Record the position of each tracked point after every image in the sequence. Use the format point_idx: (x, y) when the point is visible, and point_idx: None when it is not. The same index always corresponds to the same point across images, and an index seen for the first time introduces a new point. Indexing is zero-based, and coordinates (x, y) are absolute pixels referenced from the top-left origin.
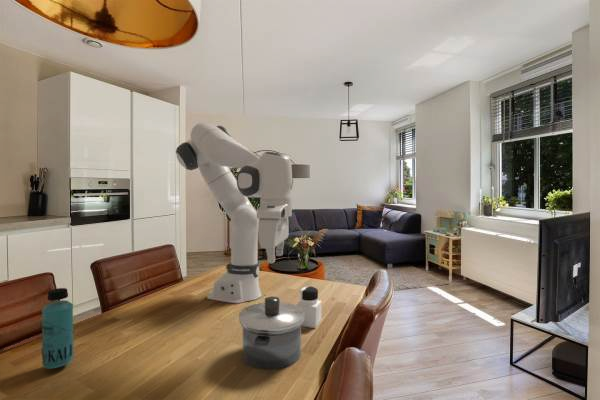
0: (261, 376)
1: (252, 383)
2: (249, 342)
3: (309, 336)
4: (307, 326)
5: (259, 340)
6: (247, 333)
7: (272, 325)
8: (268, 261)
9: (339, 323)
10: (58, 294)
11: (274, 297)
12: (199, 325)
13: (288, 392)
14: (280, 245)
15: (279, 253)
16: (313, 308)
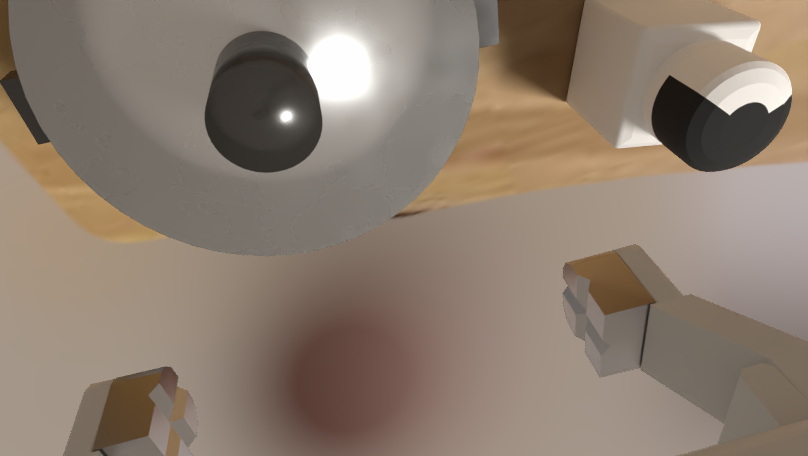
0: None
1: (5, 47)
2: None
3: (482, 104)
4: (573, 63)
5: (18, 107)
6: None
7: (102, 169)
8: (90, 402)
9: (631, 173)
10: None
11: (303, 123)
12: None
13: (59, 191)
14: (712, 382)
15: (580, 316)
16: (613, 133)
